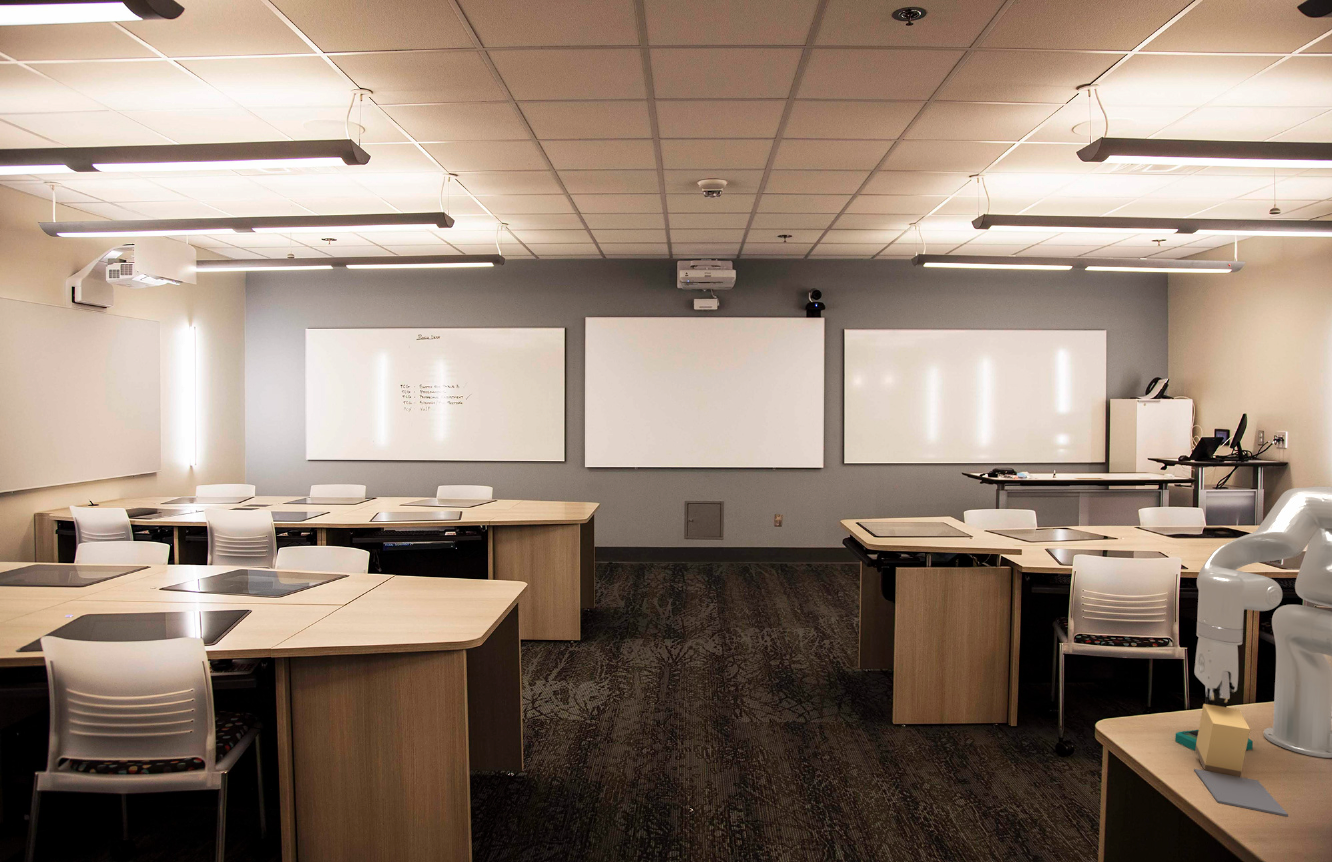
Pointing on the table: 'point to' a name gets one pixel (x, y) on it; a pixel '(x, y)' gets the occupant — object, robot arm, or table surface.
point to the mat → (1240, 792)
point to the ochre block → (1222, 740)
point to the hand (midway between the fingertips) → (1215, 717)
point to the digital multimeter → (1191, 736)
